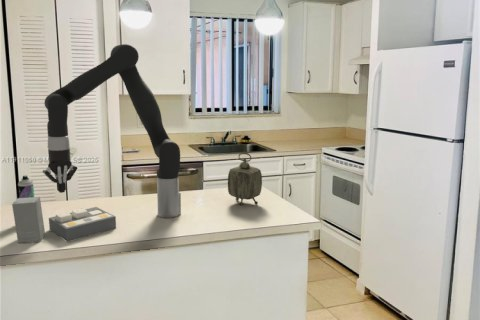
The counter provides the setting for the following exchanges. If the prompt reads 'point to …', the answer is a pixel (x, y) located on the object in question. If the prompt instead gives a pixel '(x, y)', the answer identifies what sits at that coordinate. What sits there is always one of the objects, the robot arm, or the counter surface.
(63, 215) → the button
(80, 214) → the middle button
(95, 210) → the button
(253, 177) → the tabletop clock
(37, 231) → the skincare box
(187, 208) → the counter surface
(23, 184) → the spray can
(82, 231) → the button panel
